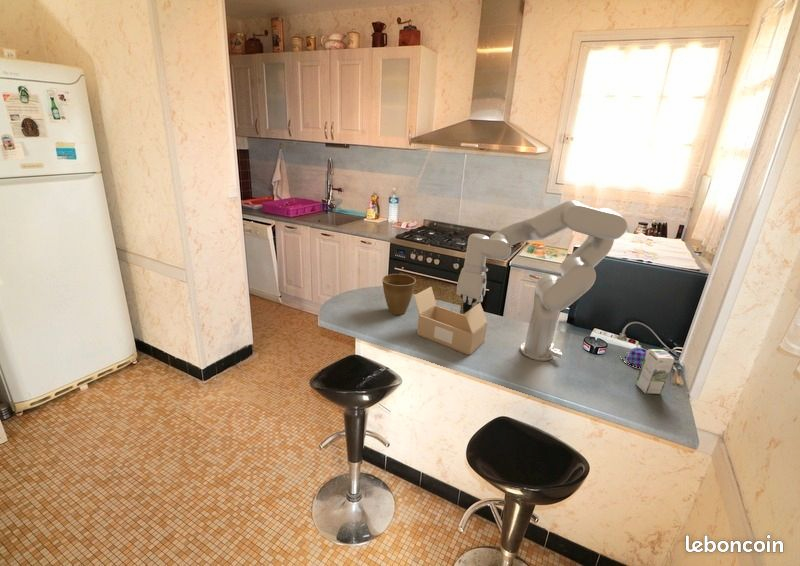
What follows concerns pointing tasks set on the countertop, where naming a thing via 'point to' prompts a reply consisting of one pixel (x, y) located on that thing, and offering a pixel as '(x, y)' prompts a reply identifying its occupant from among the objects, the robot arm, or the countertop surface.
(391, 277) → the plant pot
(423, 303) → the far flap
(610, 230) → the robot arm
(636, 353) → the purple plaid hat
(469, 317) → the near flap
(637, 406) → the countertop surface
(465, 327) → the carton
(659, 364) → the syrup box
